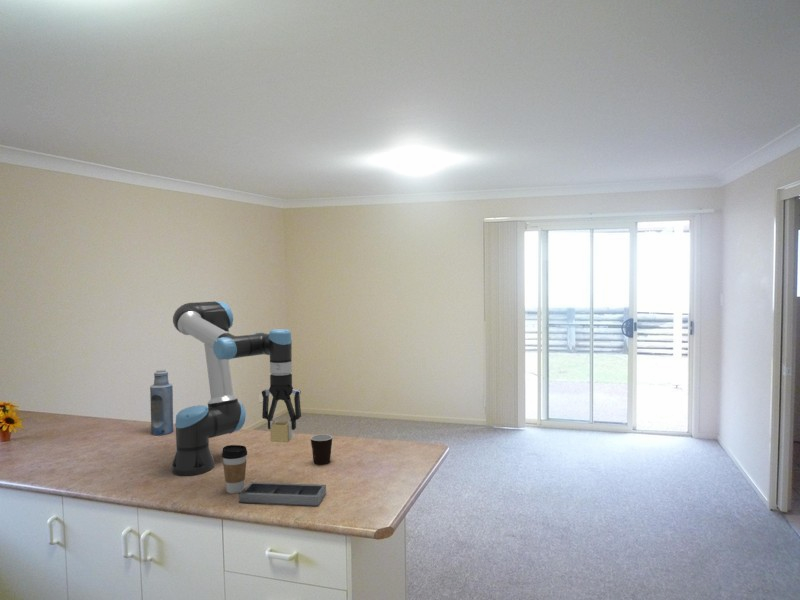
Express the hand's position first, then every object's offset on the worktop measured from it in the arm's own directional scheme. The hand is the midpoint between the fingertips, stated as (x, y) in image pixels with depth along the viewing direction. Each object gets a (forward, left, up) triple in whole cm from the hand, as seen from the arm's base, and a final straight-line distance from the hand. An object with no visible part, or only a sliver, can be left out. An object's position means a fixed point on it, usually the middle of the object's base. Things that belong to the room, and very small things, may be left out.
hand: (282, 438), depth 186 cm
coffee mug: (+8, +25, -17) cm, 31 cm away
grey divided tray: (+4, -11, -17) cm, 20 cm away
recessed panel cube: (0, 0, 0) cm, 1 cm away
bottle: (-79, +56, -17) cm, 98 cm away
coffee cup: (-15, -6, -17) cm, 24 cm away
